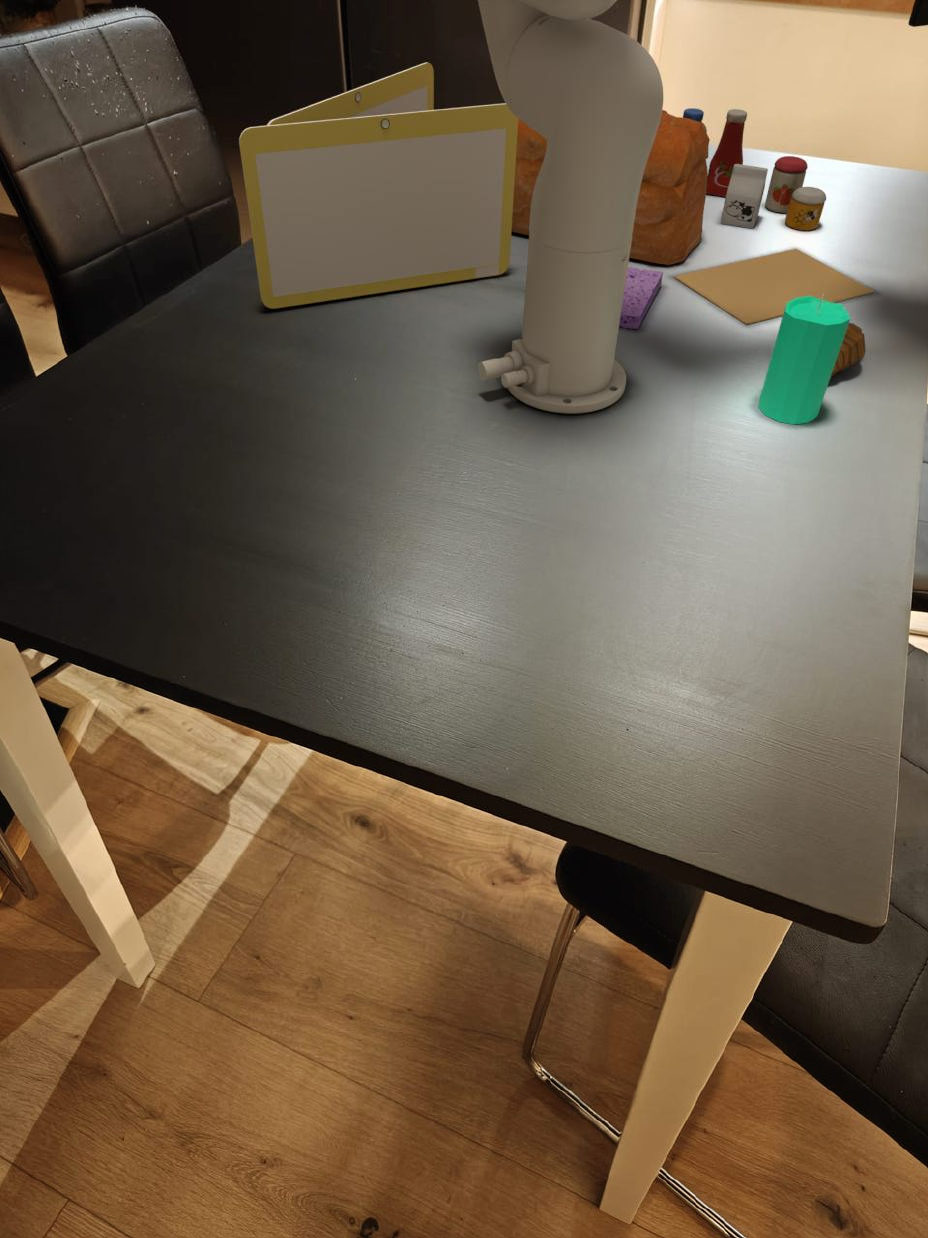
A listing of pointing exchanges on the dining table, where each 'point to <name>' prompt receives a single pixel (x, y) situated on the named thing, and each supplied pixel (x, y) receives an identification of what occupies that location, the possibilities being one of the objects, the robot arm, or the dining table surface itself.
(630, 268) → the sponge
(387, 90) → the tabletop whiteboard easel
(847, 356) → the croissant
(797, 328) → the candle
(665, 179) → the bread
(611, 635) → the dining table surface
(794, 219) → the toy food
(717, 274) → the place mat
